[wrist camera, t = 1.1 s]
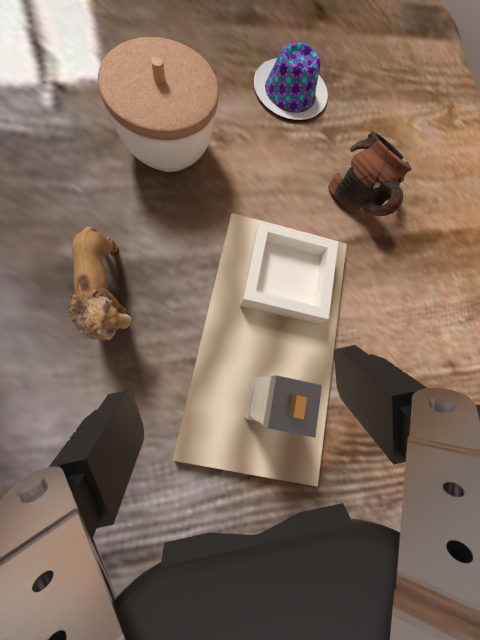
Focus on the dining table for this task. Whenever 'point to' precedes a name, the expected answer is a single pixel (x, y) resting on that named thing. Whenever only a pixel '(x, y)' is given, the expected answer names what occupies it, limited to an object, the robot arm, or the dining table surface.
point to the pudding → (292, 82)
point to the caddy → (290, 273)
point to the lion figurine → (94, 288)
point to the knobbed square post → (284, 404)
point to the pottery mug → (372, 178)
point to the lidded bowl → (160, 101)
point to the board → (249, 358)
